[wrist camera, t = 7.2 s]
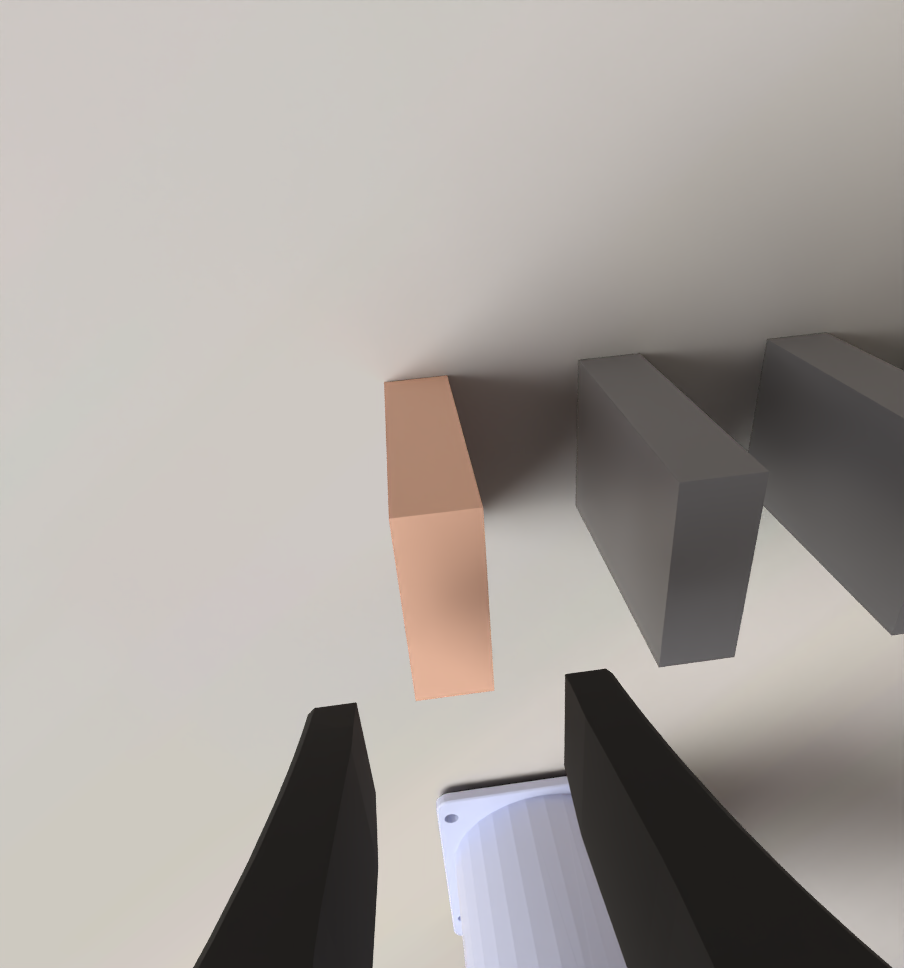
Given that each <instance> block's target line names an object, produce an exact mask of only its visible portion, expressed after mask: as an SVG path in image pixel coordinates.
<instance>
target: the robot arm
mask: <svg viewBox="0 0 904 968" xmlns="http://www.w3.org/2000/svg"><path fill="white" fill-rule="evenodd" d="M564 766H565V770H566V774H567V776H563V777H556V778H549V779H542V780H535V781H528V782H522V783H515V784H508V785H501V786H494V787H487V788H480V789H473V790H466V791H459V792H452V793H447V794H443V795H442V796H440V797H439V798H438V799H437V802H436V807H437V816H438V823H439V829H440V836H441V843H442V850H443V857H444V864H445V871H446V878H447V885H448V892H449V899H450V906H451V913H452V920H453V926H454V932H455V933H456V934H458V935H460V936H463V946H464V955H465V964H466V968H892V967H891V966H890V965H889V964H887V963H886V962H885V961H884V960H883V959H882V958H880V957H879V956H878V955H877V954H876V953H875V952H874V951H872V950H871V949H870V948H869V947H868V946H867V945H866V944H864V943H863V942H862V941H861V940H860V939H859V938H857V937H856V936H855V935H854V934H853V933H852V932H851V931H850V930H849V929H848V928H846V927H845V926H844V925H843V924H842V923H841V922H840V921H839V920H838V919H837V918H836V917H834V916H833V915H832V914H831V913H830V912H829V911H828V910H827V909H826V908H825V907H823V906H822V905H821V904H820V903H819V902H818V901H817V900H816V899H815V898H814V897H813V896H812V895H811V894H810V893H808V892H807V891H806V890H805V889H804V888H803V887H802V886H801V885H800V884H799V883H798V882H797V881H796V880H795V879H794V878H793V877H792V876H791V875H790V874H789V873H788V872H787V871H786V870H785V869H784V868H783V867H782V866H781V865H780V864H778V863H777V862H776V861H775V860H774V859H773V858H772V856H771V855H770V854H769V853H768V852H767V851H766V850H765V849H764V848H763V847H762V846H761V845H760V844H759V843H758V842H757V841H756V840H755V839H754V838H753V837H752V836H751V835H750V834H749V833H748V832H747V831H746V830H745V829H744V828H743V827H742V826H741V825H740V824H739V823H738V822H737V821H736V820H735V819H734V817H733V816H732V815H731V814H730V813H729V812H728V811H727V810H726V809H725V808H724V807H723V806H722V805H721V804H720V803H719V801H718V800H717V799H716V798H715V797H714V796H713V795H712V794H711V792H710V791H709V790H708V789H707V788H706V787H705V786H704V785H703V784H702V782H701V781H700V780H699V779H698V778H697V777H696V776H695V775H694V774H693V772H692V771H691V770H690V769H689V768H688V767H687V766H686V765H685V763H684V762H683V761H682V760H681V759H680V758H679V757H678V755H677V754H676V753H675V752H674V751H673V750H672V748H671V747H670V746H669V745H668V744H667V742H666V741H665V740H664V739H663V738H662V736H661V735H660V734H659V733H658V731H657V730H656V729H655V728H654V727H653V725H652V724H651V723H650V722H649V720H648V719H647V718H646V717H645V715H644V714H643V713H642V712H641V710H640V709H639V708H638V707H637V705H636V704H635V703H634V701H633V700H632V699H631V698H630V696H629V695H628V694H627V692H626V691H625V690H624V688H623V687H622V686H621V684H620V683H619V682H618V680H617V679H616V678H615V676H614V675H613V674H612V673H611V672H610V671H608V670H607V669H600V670H593V671H586V672H578V673H571V674H565V753H564ZM377 879H378V845H377V817H376V792H375V788H374V783H373V778H372V773H371V769H370V764H369V759H368V755H367V750H366V745H365V741H364V736H363V731H362V727H361V722H360V717H359V713H358V708H357V703H349V704H342V705H334V706H327V707H319V708H314V709H313V710H312V711H311V712H310V713H309V714H308V717H307V720H306V723H305V726H304V729H303V732H302V735H301V738H300V741H299V743H298V746H297V749H296V752H295V754H294V757H293V760H292V762H291V765H290V767H289V770H288V772H287V775H286V777H285V780H284V782H283V785H282V787H281V789H280V792H279V794H278V797H277V799H276V801H275V804H274V806H273V808H272V810H271V813H270V815H269V817H268V819H267V822H266V824H265V826H264V828H263V830H262V833H261V835H260V837H259V839H258V841H257V844H256V846H255V848H254V850H253V852H252V855H251V857H250V859H249V861H248V863H247V865H246V867H245V869H244V871H243V873H242V875H241V877H240V879H239V881H238V883H237V885H236V887H235V889H234V891H233V893H232V895H231V897H230V899H229V901H228V903H227V905H226V907H225V909H224V911H223V913H222V915H221V916H220V918H219V920H218V922H217V924H216V926H215V928H214V930H213V932H212V934H211V936H210V938H209V940H208V942H207V944H206V945H205V947H204V949H203V951H202V953H201V955H200V956H199V958H198V960H197V962H196V964H195V965H194V967H193V968H372V966H373V949H374V932H375V915H376V897H377Z"/></svg>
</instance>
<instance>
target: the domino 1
mask: <svg viewBox="0 0 904 968" xmlns="http://www.w3.org/2000/svg"><path fill="white" fill-rule="evenodd" d="M384 390H385V418H386V447H387V476H388V505H389V522H390V529H391V536H392V543H393V549H394V556H395V563H396V570H397V576H398V583H399V590H400V597H401V604H402V610H403V617H404V624H405V631H406V637H407V644H408V651H409V658H410V665H411V671H412V678H413V685H414V692H415V699H416V701H419V700H427V699H434V698H442V697H449V696H457V695H464V694H472V693H479V692H487V691H494V678H493V662H492V646H491V629H490V613H489V597H488V580H487V564H486V547H485V531H484V515H483V505H482V502H481V498H480V494H479V491H478V487H477V483H476V480H475V476H474V472H473V469H472V465H471V461H470V458H469V454H468V450H467V447H466V443H465V439H464V436H463V432H462V428H461V425H460V421H459V417H458V414H457V410H456V406H455V403H454V399H453V395H452V392H451V388H450V384H449V381H448V377H447V376H438V377H429V378H419V379H410V380H401V381H392V382H384Z"/></svg>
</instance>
